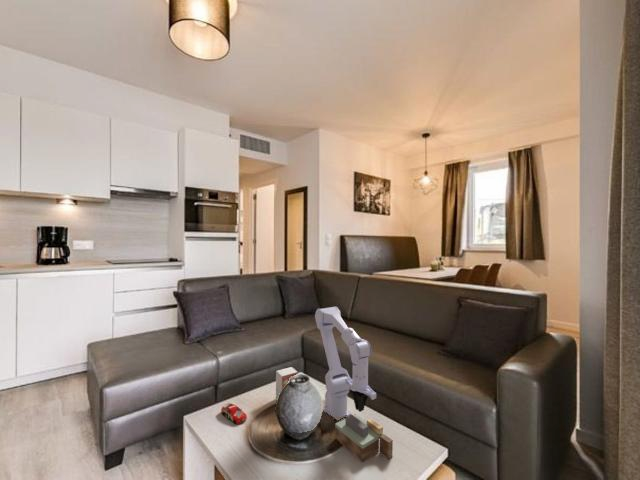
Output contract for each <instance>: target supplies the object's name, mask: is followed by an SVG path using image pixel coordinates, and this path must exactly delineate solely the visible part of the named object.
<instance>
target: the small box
mask: <svg viewBox="0 0 640 480" xmlns="http://www.w3.org/2000/svg"><path fill="white" fill-rule="evenodd" d="M296 374H298V375H299V371H297V370H296V369H295V368H294V367H292V366H290V367H287V368H286V367H285V368H282V369H278V370H276V371H275V400H277V398H278V396H279V393H280V392H281V390H282V389H283V387H284V386H285V385H286V384H287V383H288V381H289V378H290V377H291V376H294V375H296Z"/></svg>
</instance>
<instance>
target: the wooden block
mask: <svg viewBox="0 0 640 480" xmlns="http://www.w3.org/2000/svg"><path fill="white" fill-rule="evenodd" d="M366 422H367V426H368V427H369V428H371V429H372V430H373V431H375V432H376V433H378V434H381V433H383V429H384V428H383V426H382V425H380V424H379V423H378V422H376V421H375V420H373V419H372V418H368V419H366ZM383 434H384V433H383Z"/></svg>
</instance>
